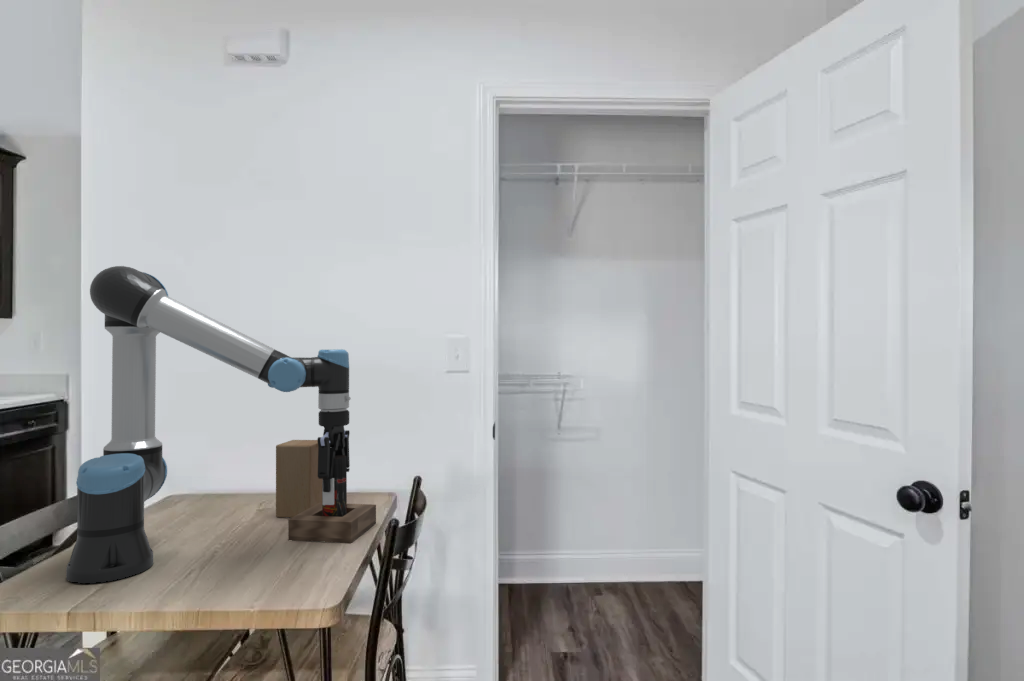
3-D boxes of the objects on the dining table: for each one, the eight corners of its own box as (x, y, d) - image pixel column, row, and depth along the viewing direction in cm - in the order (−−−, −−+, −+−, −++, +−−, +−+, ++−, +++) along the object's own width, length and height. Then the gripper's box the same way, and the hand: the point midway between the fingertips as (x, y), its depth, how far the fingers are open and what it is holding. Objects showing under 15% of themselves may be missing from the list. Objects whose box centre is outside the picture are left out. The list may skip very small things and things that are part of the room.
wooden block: (325, 508, 171) (325, 439, 171) (310, 518, 161) (310, 445, 161) (292, 508, 172) (292, 439, 172) (275, 517, 162) (275, 445, 162)
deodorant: (351, 514, 150) (351, 456, 150) (333, 520, 145) (333, 459, 145) (335, 511, 153) (335, 454, 154) (317, 517, 148) (317, 457, 149)
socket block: (288, 540, 142) (288, 519, 143) (319, 521, 158) (319, 502, 158) (351, 543, 140) (351, 522, 140) (376, 523, 156) (376, 504, 156)
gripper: (331, 414, 140) (331, 511, 140) (362, 406, 159) (363, 492, 158) (301, 413, 141) (302, 510, 141) (336, 406, 160) (336, 491, 159)
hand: (334, 500), depth 149 cm, fingers closed on deodorant, 6 cm apart
